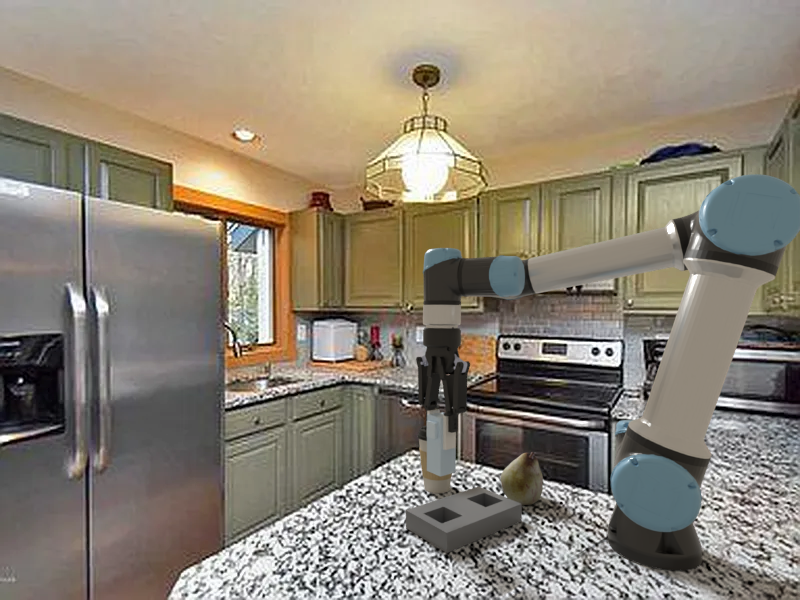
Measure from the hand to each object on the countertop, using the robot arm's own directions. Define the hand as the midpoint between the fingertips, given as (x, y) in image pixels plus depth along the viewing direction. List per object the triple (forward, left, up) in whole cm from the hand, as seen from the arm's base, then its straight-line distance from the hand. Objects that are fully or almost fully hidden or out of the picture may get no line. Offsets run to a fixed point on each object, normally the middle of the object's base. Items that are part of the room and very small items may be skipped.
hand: (441, 445), depth 89 cm
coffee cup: (+18, -15, -18) cm, 29 cm away
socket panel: (0, -6, -17) cm, 18 cm away
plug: (0, 0, -5) cm, 5 cm away
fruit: (+1, -26, -18) cm, 31 cm away
